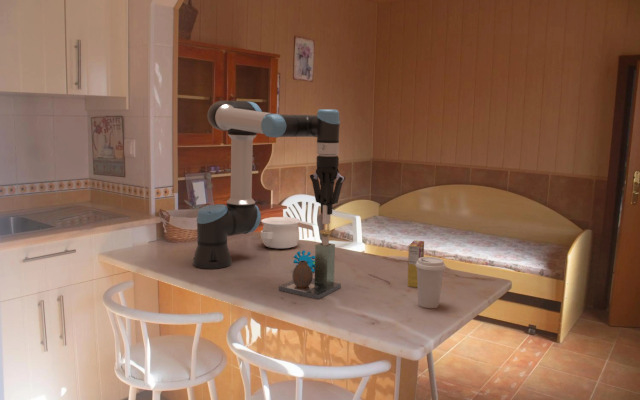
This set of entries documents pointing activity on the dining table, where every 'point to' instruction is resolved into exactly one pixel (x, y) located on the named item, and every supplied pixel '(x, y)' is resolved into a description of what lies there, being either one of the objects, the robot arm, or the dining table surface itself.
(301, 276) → the vase
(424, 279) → the coffee cup
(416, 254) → the candy box
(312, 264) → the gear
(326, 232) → the ram pin
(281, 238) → the pot
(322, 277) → the base
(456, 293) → the dining table surface
